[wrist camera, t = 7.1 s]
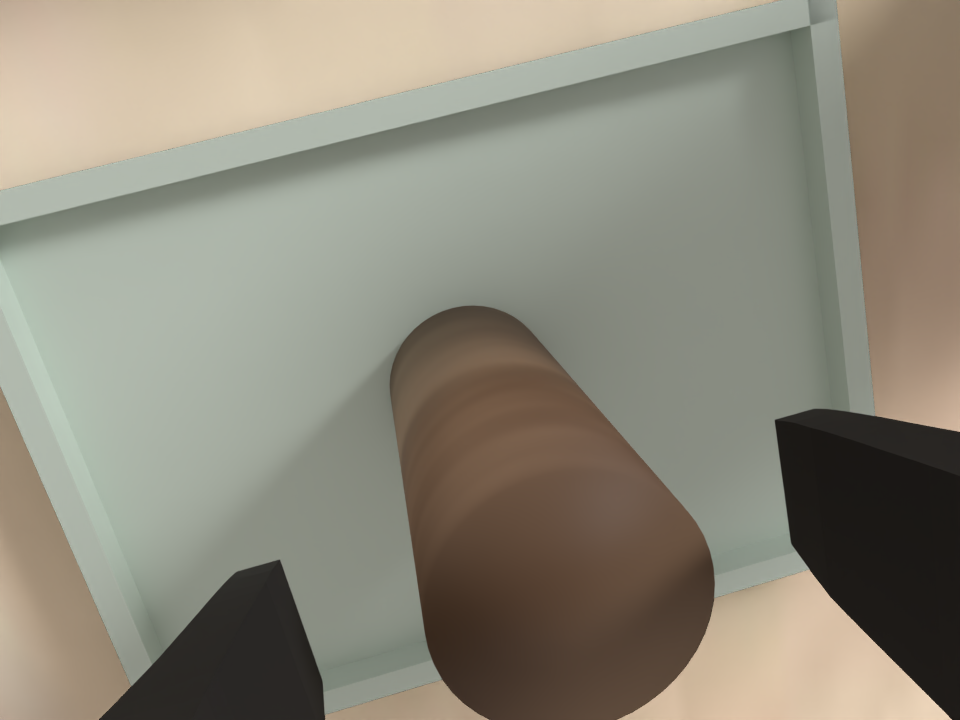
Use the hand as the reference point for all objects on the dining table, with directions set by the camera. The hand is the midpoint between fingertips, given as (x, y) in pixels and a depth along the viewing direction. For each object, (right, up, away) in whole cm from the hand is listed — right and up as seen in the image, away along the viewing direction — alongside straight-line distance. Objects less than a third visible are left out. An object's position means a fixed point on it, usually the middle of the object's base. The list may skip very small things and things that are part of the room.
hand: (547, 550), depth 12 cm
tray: (-1, +2, +8) cm, 8 cm away
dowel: (-1, +2, +7) cm, 7 cm away
